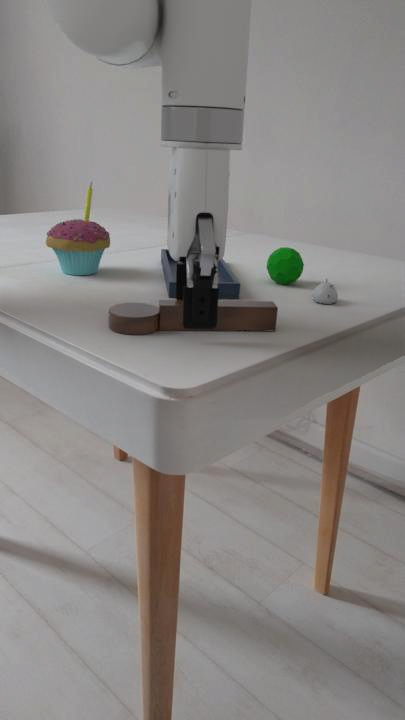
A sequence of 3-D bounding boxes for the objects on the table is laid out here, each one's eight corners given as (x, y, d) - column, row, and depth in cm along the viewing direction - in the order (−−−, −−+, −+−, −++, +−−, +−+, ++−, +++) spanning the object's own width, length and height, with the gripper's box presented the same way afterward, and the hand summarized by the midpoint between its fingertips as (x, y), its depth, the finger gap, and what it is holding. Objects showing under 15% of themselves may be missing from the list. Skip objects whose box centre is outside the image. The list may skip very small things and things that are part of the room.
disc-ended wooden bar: (107, 334, 55) (107, 309, 54) (109, 318, 60) (109, 294, 59) (278, 336, 57) (281, 311, 56) (267, 320, 62) (269, 297, 61)
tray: (168, 297, 68) (169, 282, 68) (161, 261, 87) (161, 248, 87) (239, 298, 69) (240, 283, 69) (216, 262, 88) (217, 250, 88)
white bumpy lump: (330, 297, 72) (333, 277, 71) (342, 306, 69) (345, 285, 68) (306, 297, 72) (309, 277, 71) (318, 306, 68) (321, 285, 67)
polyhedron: (257, 280, 78) (260, 246, 77) (282, 277, 81) (286, 244, 79) (283, 289, 75) (287, 253, 73) (308, 285, 78) (312, 250, 76)
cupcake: (95, 263, 84) (93, 178, 79) (121, 275, 77) (121, 184, 73) (39, 268, 79) (33, 178, 75) (61, 281, 73) (57, 185, 68)
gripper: (156, 129, 59) (154, 290, 65) (165, 129, 43) (161, 342, 49) (227, 133, 60) (218, 291, 66) (262, 133, 44) (246, 342, 50)
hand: (194, 312), depth 58 cm, fingers open, 8 cm apart
